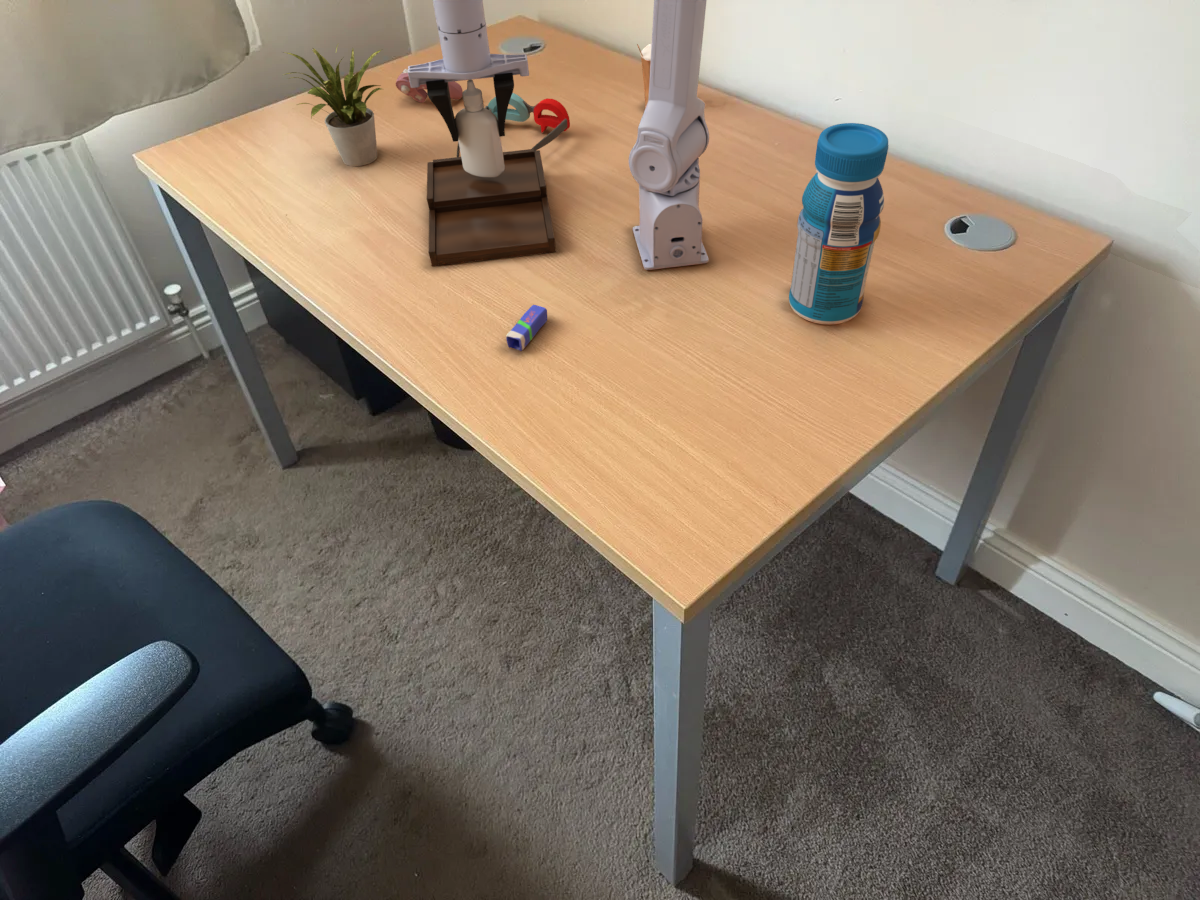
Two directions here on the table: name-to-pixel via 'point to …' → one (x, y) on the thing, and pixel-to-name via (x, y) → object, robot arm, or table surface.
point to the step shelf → (488, 210)
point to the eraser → (526, 327)
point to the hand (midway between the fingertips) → (479, 135)
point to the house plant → (346, 111)
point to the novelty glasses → (535, 116)
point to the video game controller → (419, 92)
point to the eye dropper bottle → (478, 136)
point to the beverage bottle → (839, 224)
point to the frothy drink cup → (646, 69)
